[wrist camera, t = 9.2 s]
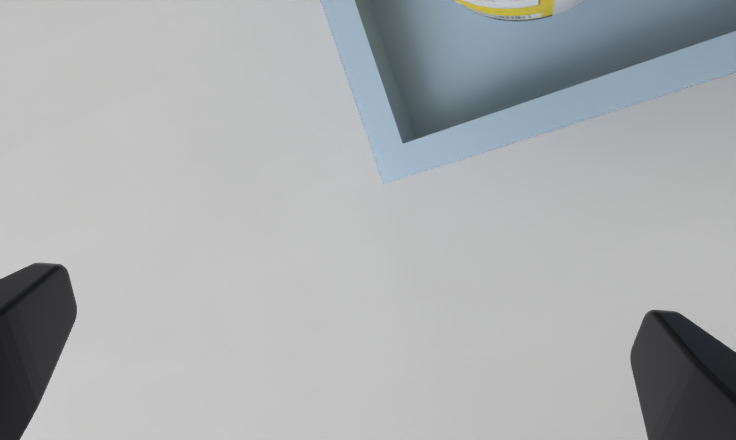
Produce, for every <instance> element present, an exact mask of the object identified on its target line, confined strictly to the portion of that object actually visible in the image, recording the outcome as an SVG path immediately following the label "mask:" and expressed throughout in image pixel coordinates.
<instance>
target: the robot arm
mask: <svg viewBox="0 0 736 440" xmlns="http://www.w3.org/2000/svg"><path fill="white" fill-rule="evenodd" d="M76 314H77V305H76V301H75V297H74V293H73V289H72V285H71V281H70V278H69V274H68V271H67V269H66V268H65V267H64V266H63V265H61V264H51V263H34V264H32V265H30V266H28V267H25V268H23V269H21V270H19V271H17V272H15V273H13V274H10V275H8V276H6V277H4V278H2V279H0V440H20V438H21V436H22V435H23V433H24V431H25V429H26V428H27V426H28V424H29V422H30V420H31V419H32V417H33V415H34V413H35V411H36V409H37V407H38V405H39V403H40V401H41V399H42V397H43V395H44V392H45V390H46V388H47V385H48V383H49V381H50V378H51V376H52V374H53V371H54V369H55V367H56V364H57V362H58V360H59V357H60V355H61V353H62V350H63V348H64V346H65V343H66V341H67V339H68V336H69V334H70V332H71V329H72V327H73V324H74V322H75V319H76ZM631 367H632V371H633V375H634V380H635V384H636V388H637V393H638V397H639V401H640V406H641V410H642V414H643V419H644V423H645V427H646V432H647V436H648V440H736V352H734V351H733V350H731V349H730V348H729V347H727V346H726V345H724V344H723V343H721V342H720V341H719V340H717V339H716V338H714V337H713V336H711V335H710V334H709V333H707V332H706V331H704V330H703V329H701V328H700V327H699V326H697V325H696V324H694V323H693V322H691V321H690V320H689V319H687V318H686V317H684V316H683V315H681V314H680V313H678V312H674V311H663V310H651V311H649V312H648V313H647V314H646V315H645V317H644V319H643V321H642V324H641V326H640V329H639V331H638V334H637V336H636V339H635V341H634V344H633V346H632V350H631Z"/></svg>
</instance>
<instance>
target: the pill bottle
mask: <svg viewBox="0 0 736 440" xmlns="http://www.w3.org/2000/svg"><path fill="white" fill-rule="evenodd" d="M454 1H456V2H457V3H458V4H460V5H461V6H463V7H465V8H466V9H468V10H470V11H472V12H474V13H477V14H479V15H482V16H485V17H488V18H492V19H496V20H503V21H516V22H519V21H532V20H539V19H543V18H547V17H550V16H553V15H556V14H559V13H562V12H564V11H567V10H569V9H570V8H572V7H574V6H576V5H578V4H580V3H582V2H583V1H585V0H454Z"/></svg>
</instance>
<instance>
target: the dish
mask: <svg viewBox="0 0 736 440" xmlns="http://www.w3.org/2000/svg"><path fill="white" fill-rule="evenodd" d="M320 1H321V4H322V7H323V9H324V12H325V15H326V18H327V21H328V24H329V27H330V30H331V33H332V36H333V39H334V42H335V44H336V47H337V50H338V53H339V56H340V59H341V62H342V65H343V68H344V71H345V74H346V76H347V79H348V82H349V85H350V88H351V91H352V94H353V97H354V100H355V103H356V106H357V109H358V111H359V114H360V117H361V120H362V123H363V126H364V129H365V132H366V135H367V138H368V141H369V143H370V146H371V149H372V152H373V155H374V158H375V161H376V164H377V167H378V170H379V173H380V176H381V178H382V181H383V184H386V183H389V182H392V181H395V180H398V179H401V178H405V177H408V176H411V175H414V174H417V173H420V172H423V171H427V170H430V169H433V168H436V167H439V166H442V165H445V164H449V163H452V162H455V161H458V160H461V159H464V158H467V157H471V156H474V155H477V154H480V153H483V152H486V151H489V150H493V149H496V148H499V147H502V146H505V145H508V144H511V143H515V142H518V141H521V140H524V139H527V138H530V137H533V136H537V135H540V134H543V133H546V132H549V131H552V130H555V129H559V128H562V127H565V126H568V125H571V124H574V123H577V122H581V121H584V120H587V119H590V118H593V117H596V116H599V115H603V114H606V113H609V112H612V111H615V110H618V109H621V108H625V107H628V106H631V105H634V104H637V103H640V102H643V101H647V100H650V99H653V98H656V97H659V96H662V95H665V94H669V93H672V92H675V91H678V90H681V89H684V88H687V87H691V86H694V85H697V84H700V83H703V82H706V81H709V80H713V79H716V78H719V77H722V76H725V75H728V74H731V73H735V72H736V0H585V1H583V2H582V3H580V4H578V5H576V6H574V7H572V8H570V9H569V10H567V11H564V12H562V13H559V14H556V15H553V16H550V17H547V18H543V19H539V20H532V21H519V22H516V21H503V20H496V19H492V18H488V17H485V16H482V15H479V14H477V13H474V12H472V11H470V10H468V9H466V8H465V7H463V6H461V5H460V4H458V3H457V2H456V1H454V0H320Z"/></svg>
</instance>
